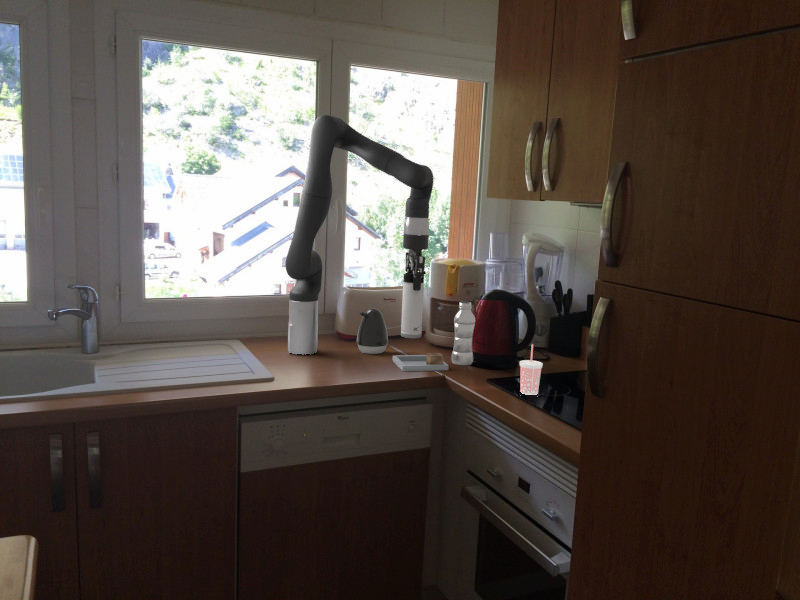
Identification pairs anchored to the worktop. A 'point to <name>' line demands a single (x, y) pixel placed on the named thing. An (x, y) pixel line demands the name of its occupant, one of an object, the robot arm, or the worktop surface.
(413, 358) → the tray
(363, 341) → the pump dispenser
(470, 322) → the plastic bottle
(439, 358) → the walnut block
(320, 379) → the worktop surface
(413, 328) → the travel mug
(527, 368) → the beverage cup
